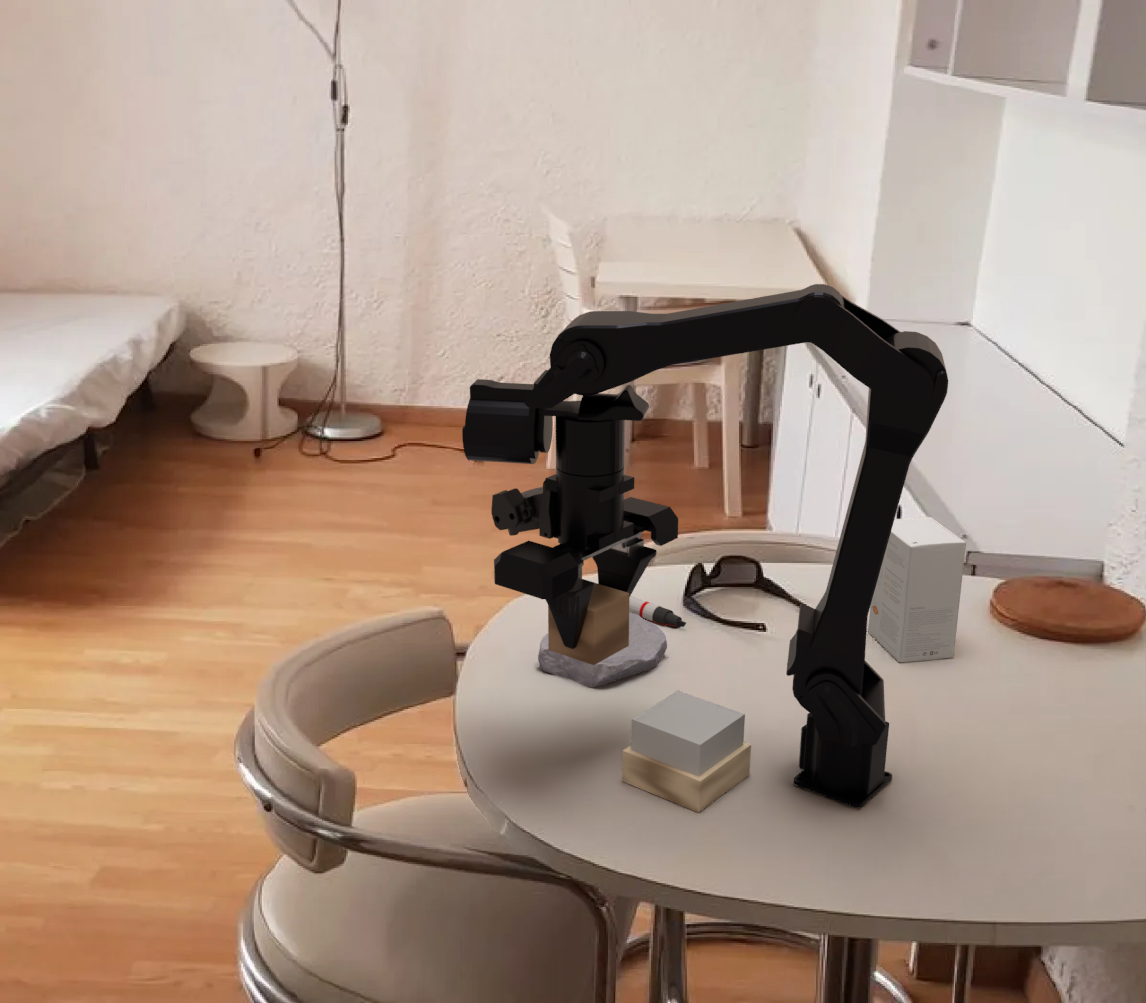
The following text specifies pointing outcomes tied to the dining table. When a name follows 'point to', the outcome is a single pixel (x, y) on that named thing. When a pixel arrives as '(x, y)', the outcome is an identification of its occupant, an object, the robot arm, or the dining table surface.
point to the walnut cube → (597, 627)
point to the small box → (918, 591)
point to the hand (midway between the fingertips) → (589, 637)
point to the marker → (654, 612)
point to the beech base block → (686, 778)
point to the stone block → (631, 660)
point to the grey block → (687, 732)
